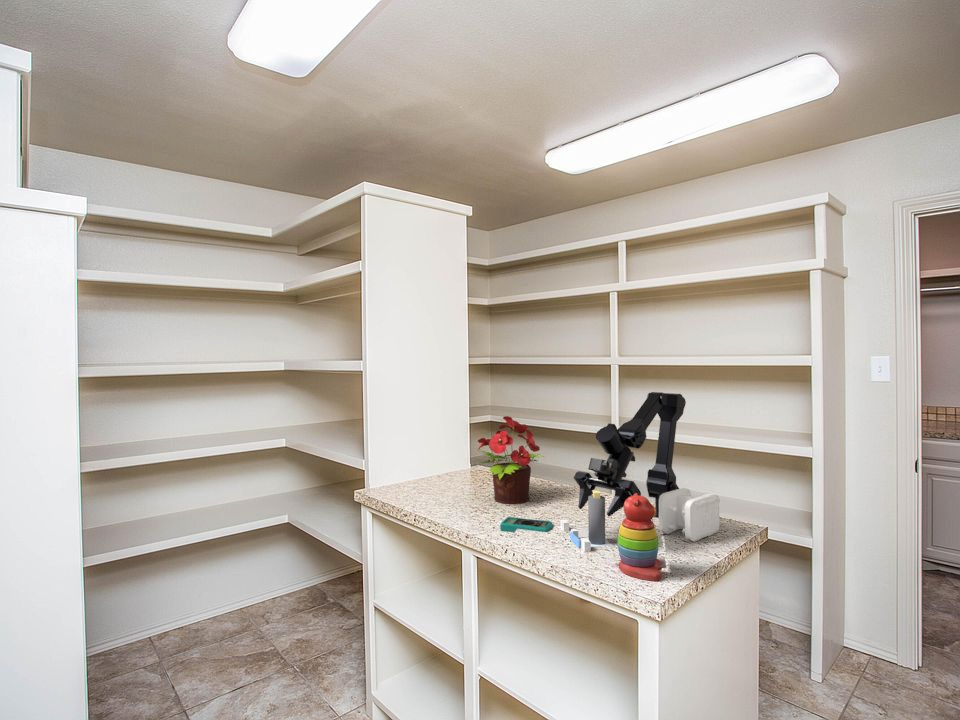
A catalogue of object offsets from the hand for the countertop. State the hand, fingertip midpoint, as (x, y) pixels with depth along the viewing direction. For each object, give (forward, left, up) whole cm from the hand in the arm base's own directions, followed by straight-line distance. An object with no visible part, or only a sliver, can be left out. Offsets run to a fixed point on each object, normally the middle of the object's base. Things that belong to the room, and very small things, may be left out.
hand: (593, 511), depth 139 cm
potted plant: (-42, -34, -10) cm, 55 cm away
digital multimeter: (-10, -20, -10) cm, 25 cm away
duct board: (-4, -1, -10) cm, 11 cm away
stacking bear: (+13, +12, -10) cm, 20 cm away
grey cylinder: (-1, +1, -8) cm, 9 cm away
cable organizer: (-17, +26, -10) cm, 33 cm away
